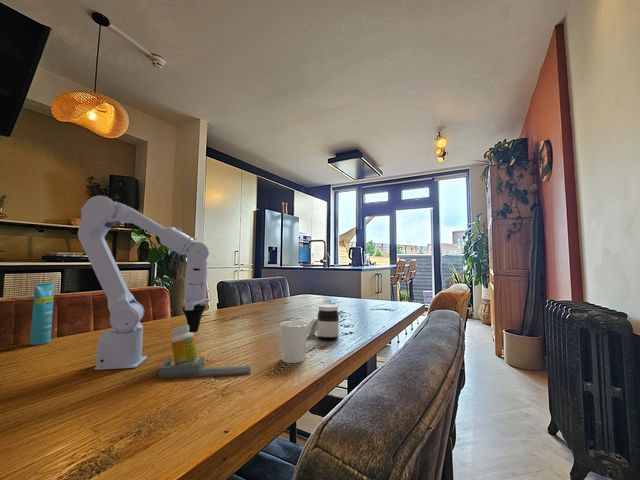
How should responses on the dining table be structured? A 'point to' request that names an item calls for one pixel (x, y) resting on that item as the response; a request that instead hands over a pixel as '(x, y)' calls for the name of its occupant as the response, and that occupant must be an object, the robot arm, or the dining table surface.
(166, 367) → the rail
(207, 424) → the dining table surface
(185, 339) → the supplement bottle
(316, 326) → the spread jar
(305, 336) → the white cup
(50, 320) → the tube
